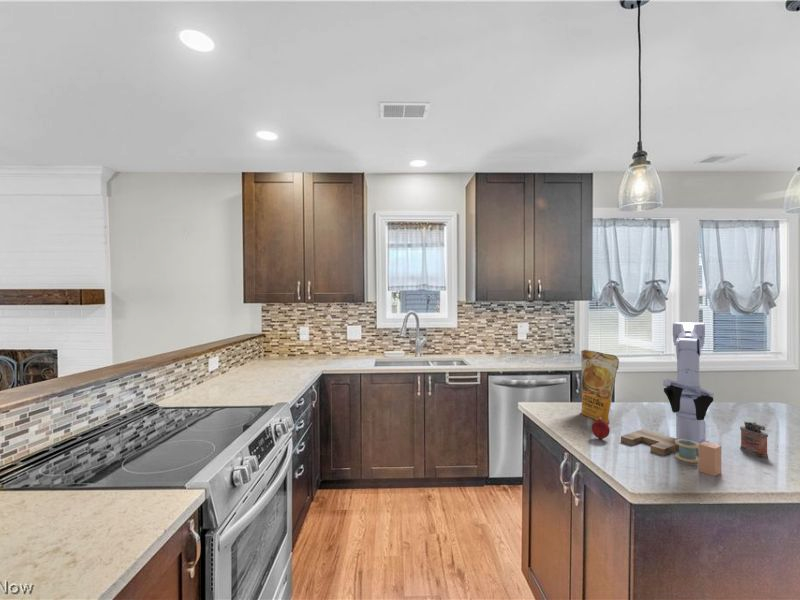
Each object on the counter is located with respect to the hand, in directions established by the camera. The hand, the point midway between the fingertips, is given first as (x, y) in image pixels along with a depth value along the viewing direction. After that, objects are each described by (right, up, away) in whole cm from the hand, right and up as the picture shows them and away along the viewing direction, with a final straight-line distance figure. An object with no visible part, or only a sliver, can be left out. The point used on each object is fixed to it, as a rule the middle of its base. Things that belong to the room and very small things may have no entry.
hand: (688, 415), depth 117 cm
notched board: (+1, -15, +17) cm, 23 cm away
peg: (+4, -15, -4) cm, 16 cm away
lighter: (+28, -15, +9) cm, 33 cm away
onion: (-15, -16, +22) cm, 31 cm away
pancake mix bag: (-4, -15, +47) cm, 50 cm away
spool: (+4, -15, +6) cm, 17 cm away
